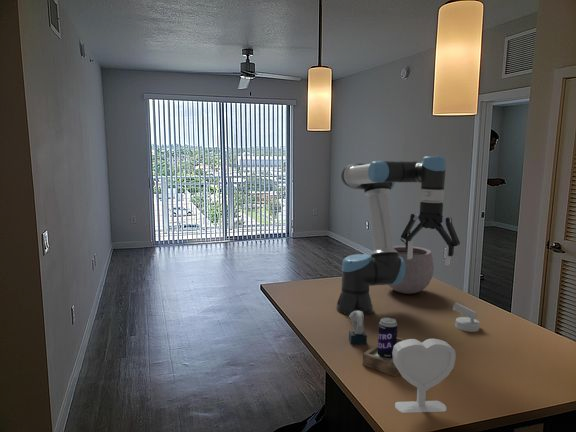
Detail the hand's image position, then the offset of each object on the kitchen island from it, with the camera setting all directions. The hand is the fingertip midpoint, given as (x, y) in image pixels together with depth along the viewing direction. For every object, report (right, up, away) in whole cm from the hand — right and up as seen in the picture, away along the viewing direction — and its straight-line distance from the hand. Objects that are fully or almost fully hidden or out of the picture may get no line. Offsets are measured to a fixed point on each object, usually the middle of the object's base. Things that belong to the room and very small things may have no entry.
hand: (428, 262), depth 154 cm
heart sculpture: (-14, -34, -38) cm, 53 cm away
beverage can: (-18, -28, -15) cm, 37 cm away
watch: (-24, -29, +2) cm, 38 cm away
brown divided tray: (-15, -30, -12) cm, 36 cm away
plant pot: (+9, -21, +60) cm, 64 cm away
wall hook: (+20, -27, +17) cm, 38 cm away
